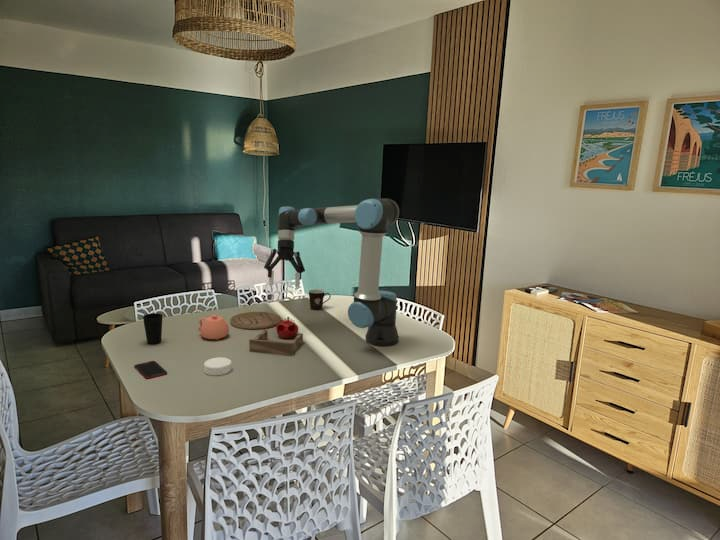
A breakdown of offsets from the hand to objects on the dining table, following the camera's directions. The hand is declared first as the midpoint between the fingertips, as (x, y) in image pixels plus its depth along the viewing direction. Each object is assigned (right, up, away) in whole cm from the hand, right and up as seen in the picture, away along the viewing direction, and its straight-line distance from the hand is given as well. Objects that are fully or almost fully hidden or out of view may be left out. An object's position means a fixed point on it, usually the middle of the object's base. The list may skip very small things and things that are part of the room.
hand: (284, 285), depth 218 cm
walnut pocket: (-1, -26, -12) cm, 28 cm away
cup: (-54, -24, -13) cm, 61 cm away
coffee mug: (+12, -15, +45) cm, 49 cm away
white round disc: (-19, -31, -39) cm, 53 cm away
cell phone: (-44, -31, -41) cm, 67 cm away
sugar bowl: (-32, -23, -3) cm, 39 cm away
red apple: (+1, -23, 0) cm, 24 cm away
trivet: (-17, -19, +20) cm, 33 cm away
